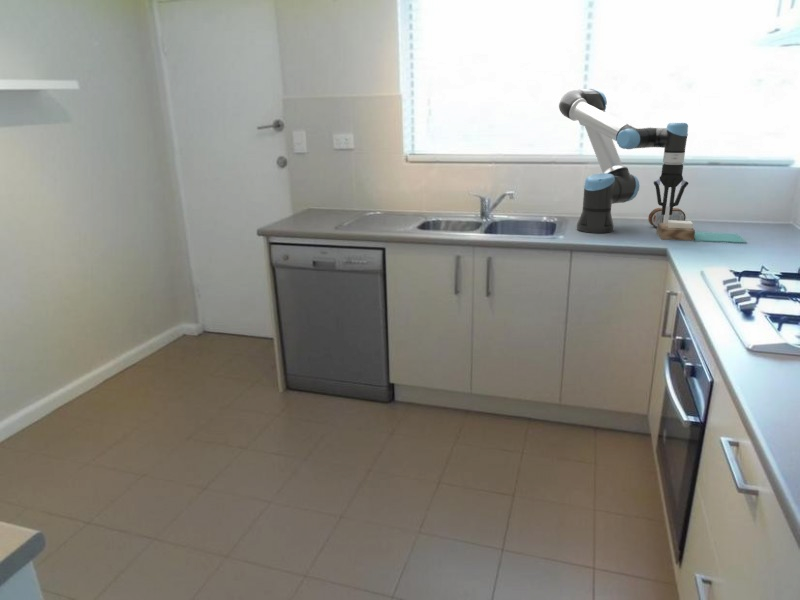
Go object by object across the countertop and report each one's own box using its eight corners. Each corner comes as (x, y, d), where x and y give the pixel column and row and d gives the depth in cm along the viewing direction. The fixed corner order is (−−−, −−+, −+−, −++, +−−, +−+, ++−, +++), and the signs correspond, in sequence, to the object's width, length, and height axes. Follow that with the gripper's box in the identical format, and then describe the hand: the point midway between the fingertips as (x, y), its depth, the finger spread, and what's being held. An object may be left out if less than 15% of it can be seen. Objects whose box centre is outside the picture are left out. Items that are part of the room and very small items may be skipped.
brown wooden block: (660, 239, 230) (662, 229, 229) (656, 232, 243) (657, 222, 241) (693, 240, 227) (695, 230, 225) (687, 233, 239) (689, 224, 238)
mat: (695, 241, 226) (695, 239, 225) (688, 233, 240) (688, 231, 240) (746, 243, 220) (747, 242, 220) (736, 235, 235) (737, 233, 235)
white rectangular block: (667, 227, 232) (668, 222, 231) (666, 224, 237) (666, 220, 236) (692, 228, 229) (693, 223, 228) (690, 225, 234) (690, 221, 234)
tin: (682, 226, 253) (685, 207, 250) (685, 228, 250) (687, 209, 247) (647, 226, 254) (649, 207, 252) (649, 228, 251) (651, 208, 249)
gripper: (656, 164, 225) (649, 223, 232) (692, 164, 221) (684, 225, 228) (654, 162, 232) (647, 220, 239) (689, 162, 228) (681, 221, 235)
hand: (665, 222), depth 234 cm, fingers closed
